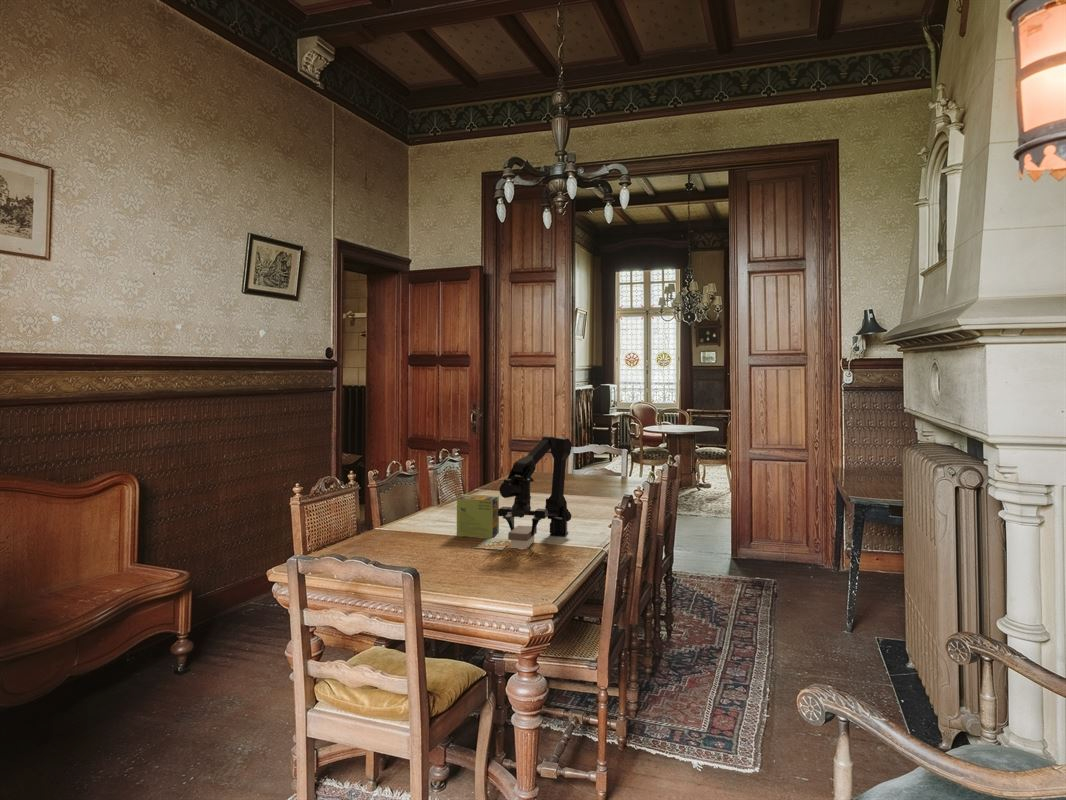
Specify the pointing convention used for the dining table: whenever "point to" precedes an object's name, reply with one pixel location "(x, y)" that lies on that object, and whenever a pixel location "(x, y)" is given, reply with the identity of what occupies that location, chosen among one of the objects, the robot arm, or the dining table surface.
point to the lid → (521, 533)
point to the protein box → (477, 516)
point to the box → (522, 543)
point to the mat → (494, 543)
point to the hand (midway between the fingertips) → (522, 534)
